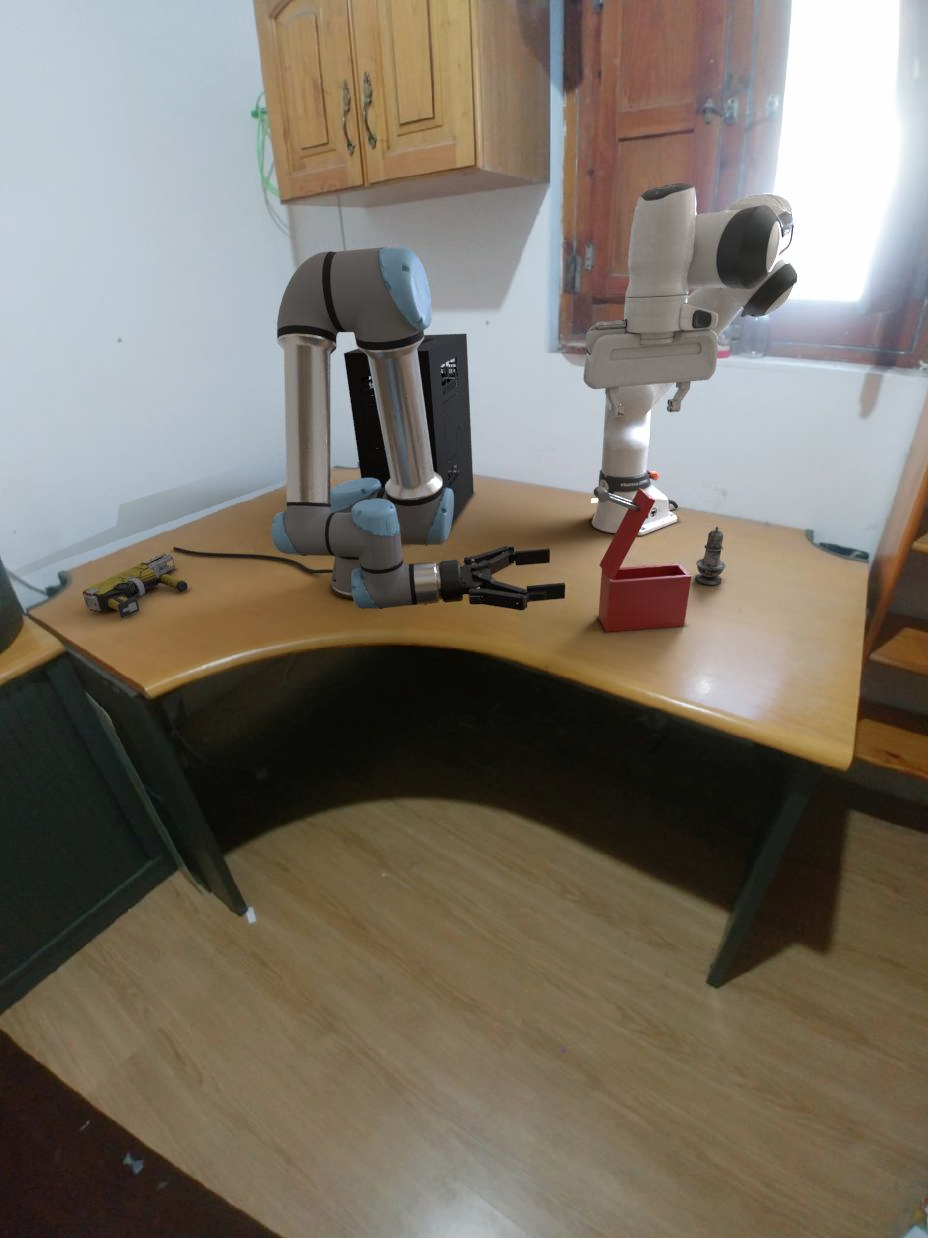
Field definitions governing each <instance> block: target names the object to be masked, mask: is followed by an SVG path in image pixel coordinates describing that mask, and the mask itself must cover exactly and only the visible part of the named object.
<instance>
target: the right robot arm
mask: <svg viewBox="0 0 928 1238" xmlns="http://www.w3.org/2000/svg"><path fill="white" fill-rule="evenodd" d="M797 226H798V214H797V210H796V207H795V205H794V203H793V202H791V200H789V199H788V198H786V197H784V196H783V195H779V194H776V193H768V192H767V193H755V194H752V195H748V196H746V197H742V198H741V199H739V200H737V201H735V202H733V203H732V204H730V205H729V206H728V207H727V208H726V209H722V210H721V211H714V212H705V213H698V211H697V195H696V187H695V186H694V185H693V184H690V183H685V182H683V183H673V184H671V183H670V184H666V185H663V186H657V187H653V188H649V189H647V190H645V191H644V192H643V193H641V194H640V195H639V197H638V198H637V201H636V204H635V208H634V213H633V217H632V222H631V230H630V236H629V244H628V256H627V266H628V271H629V280H628V285H627V289H626V291H625V299H624V309H623V311H624V312H623V319H616V320H611V321H604V320H603V321H597V322H596V323H595V324H594V325H592V326H591V327H590V328H589V329H588V330H587V332H586V335H585V351H586V355H585V362H584V368H583V379H582V380H583V382H584V384H585V385H586V386H587V387H588V388H590V389H593V390H602V389H604V395H605V405H604V418H603V419H604V421H603V435H602V436H603V438H602V453H601V468H600V470H599V474H598V486H602V487H603V488H604V489H605V490H606V491H607V493H610V494H613V495H616V496H618V497H621V498H624V499H627V500H629V501H633V499H634V497H635V495H636V493H637V491H638V489H639V488H640V489H643V490H645V491H646V492H647V493H648V494H649V495H650V496H651V497H652V498H653V499H654V500H655V503H654V505H653V506H652V508H651V510H650V512H649V514H648V516H647V518H646V520H645V521H644V523H643V525H642V527H641V529H640V531H639V533H638V534H637V536H645V535H646V534H650V533H652V532H654V531H657V530H660V529H662V528H665V527H668V526H670V525H672V524H675V523H677V522H678V516H677V515H676V514H675V513H674V512H672V511H670V505H672V506H673V507H674V508H675V509H678V508H679V505H678V504H677V502H676V501H675V500H672V499H670V498H668V497H667V496H666V495H665V494H664V493H663V492H661V491H660V490H659V489H658V488H656V487H655V486H654V485H652V483H651V480H653V481H658V479H659V478H660V473H659V472H657V471H654V470H651V471H649V470H648V469H647V466H648V458H649V457H648V456H649V446H650V435H651V433H650V432H651V431H650V430H651V416H652V415H651V414H652V408H654V406H655V405H656V404H657V403H658V402H659V401H660V399H662V398H663V397H664V395H665V394H666V393H667V392H668V391H669V390H670V389H671V387H672V386H673V385H674V384H675V387H676V388H677V390H676V392H675V393H674V395H673V397H672V398H669V399H667V403H666V404H667V406H666V411H667V412H669V413H679V412H681V407H682V401H683V400H684V398H685V397H686V396H687V394H688V392H689V391H690V390H691V383H692V382H699V381H709V380H710V379H711V378H712V377H713V376H714V374H715V372H716V369H717V368H716V367H717V362H718V353H719V352H718V349H719V337H720V336H721V335H722V334H723V332H724V331H725V330H726V329H728V327H729V326H730V325H731V324H732V322H733V321H734V320H735V319H736V318H737V316H738V315H739V314H740V312H741V314H740V315H739V317H741V318H745V317H747V316H749V317H753V318H760V317H765V316H767V315H768V314H771V313H772V312H774V311H776V310H778V309H779V308H780V307H781V306H782V305H784V304H785V303H786V302H787V300H789V298H790V296H791V295H792V294H793V291H794V290H795V287H796V286H797V285H798V283H799V273H798V270H797V269H796V266H795V265H794V263H793V262H792V261H789V260H788V259H787V257H786V255H787V253H789V250H790V248H791V245H792V243H793V238H794V235H795V233H796V230H797ZM689 290H693V291H692V292H691V293H690V292H689ZM689 293H690V294H689ZM590 501H591V502H590V503H591V504H594V503H596V507H595V511H594V514H593V517H592V520H591V525H592V526H593V527H594V528H595V529H597V530H599V531H601V532H605V533H611V534H616V532H617V530H618V528H619V526H620V524H621V522H622V520H623V518H624V516H625V514H626V512H627V511H628V509H629V508H627V507H624V506H621V505H618V504H616V503H613V502H610V501H607V502H605V503H601V502H600V501H599V500H598V499H597V498H596V497H595V498H591V499H590Z"/></svg>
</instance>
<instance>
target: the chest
mask: <svg viewBox="0 0 928 1238" xmlns="http://www.w3.org/2000/svg"><path fill="white" fill-rule="evenodd" d="M691 583H692V575H691V574H690V573H689V572H688V571H687V569H685V567H683V564H681V563H679V562H678V563H677V562H676V563H666V564H663V563H662V564H651V565H638V566H625V567H620V568H619V570H618V572H617V574H616V576H615V577H614V579H613V580H612V579H609V578H607V576H606V575H605V573H604V572H603V570H602V569H601V575H600V587H599V588H600V589H599V603H598V619H599V621H600V623H601V625H602V627H603V629H604V630H605V632H606V633H609V632H610V633H611V632H620V631H635V630H648V629H659V628H671V627H673V628H674V627H683V626H685V622H686V616H687V611H688V610H687V609H688V603H689V597H690V590H691Z"/></svg>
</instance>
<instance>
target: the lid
mask: <svg viewBox="0 0 928 1238" xmlns="http://www.w3.org/2000/svg"><path fill="white" fill-rule="evenodd" d="M592 493H593V496H594V497H595V498H597V499H598V500H599V501H600V502H601V503H605V502H607V501H610V502H613V503H616V504H618V505H621V506H624V507H627V508H629V509H628V511H627V512H626V514H625V516H624V518H623V520H622V522H621V524H620V526H619V528H618V530H617V532H616V533H614V536H613V538H612V539H611V541H610V544H609V545H608V547H607V549H606V551H605V553H604V555H603V557H602V559H601V561H600V563H599V567H600V568H601V571H602V570H603V572H604V573H605V575H606V576H607V578H609V579H612V580H613V579H614V577H615V576H616V574H617V572H618V570H619V568H621V567H622V564H623V562H624V561H625V559H626V557H627V555H628V553H629V552H630V550H631V547H632V546H633V544H634V542H635V540H636V539H637V536H638V535H637V534H638V533H639V531H640V529H641V527H642V525H643V523H644V521H645V520H646V518H647V516H648V514H649V512H650V510H651V508H652V506H653V505H654V503H655V500H654V499H653V498H652V497H651V496H650V495H649V494H648V493H647V492H646V491H645V490H643V489H640V488H639V489H638V491H637V493H636V495H635V497H634V499H633V501H629V500H627V499H624V498H621V497H618V496H616V495H613V494H610V493H607V491H606V490H605V489H604V488H603V487H602V486H599V485H598V486H595V487H594V489H593V492H592Z"/></svg>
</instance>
